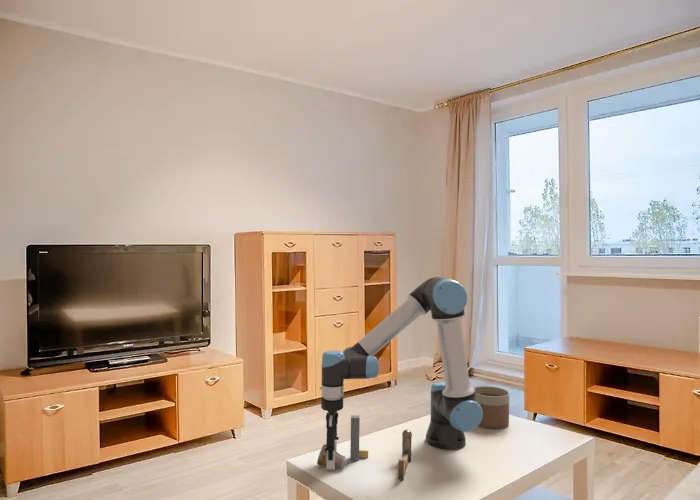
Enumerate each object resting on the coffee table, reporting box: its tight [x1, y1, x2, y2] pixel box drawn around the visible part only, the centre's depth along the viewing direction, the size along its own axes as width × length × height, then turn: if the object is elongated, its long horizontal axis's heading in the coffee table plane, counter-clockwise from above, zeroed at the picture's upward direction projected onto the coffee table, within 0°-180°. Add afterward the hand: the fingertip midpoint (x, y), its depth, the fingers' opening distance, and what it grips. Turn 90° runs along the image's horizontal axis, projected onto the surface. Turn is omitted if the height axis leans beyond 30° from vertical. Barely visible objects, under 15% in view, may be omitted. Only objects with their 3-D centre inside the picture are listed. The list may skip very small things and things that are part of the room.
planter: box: [473, 385, 510, 429], centre depth 222 cm, size 16×16×14 cm
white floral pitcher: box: [316, 443, 348, 469], centre depth 176 cm, size 8×10×10 cm
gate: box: [397, 454, 409, 481], centre depth 173 cm, size 14×2×6 cm, turn 167°
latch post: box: [349, 414, 369, 462], centre depth 183 cm, size 6×4×15 cm, turn 87°
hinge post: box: [401, 429, 413, 464], centre depth 182 cm, size 3×3×11 cm
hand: (331, 463), depth 176 cm, fingers closed on white floral pitcher, 7 cm apart
